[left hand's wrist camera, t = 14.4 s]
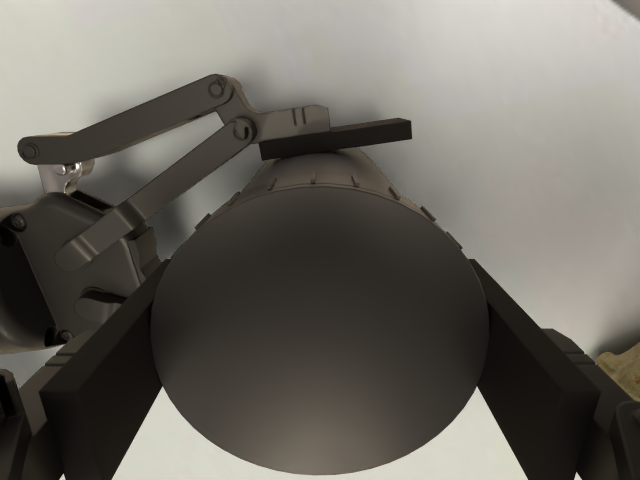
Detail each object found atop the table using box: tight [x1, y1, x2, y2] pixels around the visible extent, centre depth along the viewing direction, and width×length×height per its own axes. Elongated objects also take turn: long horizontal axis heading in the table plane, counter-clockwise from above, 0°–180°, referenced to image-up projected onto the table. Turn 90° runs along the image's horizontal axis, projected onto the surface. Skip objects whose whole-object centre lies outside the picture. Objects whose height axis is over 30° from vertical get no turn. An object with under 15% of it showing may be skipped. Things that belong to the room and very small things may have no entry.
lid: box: [150, 171, 490, 475], centre depth 12 cm, size 10×10×2 cm
